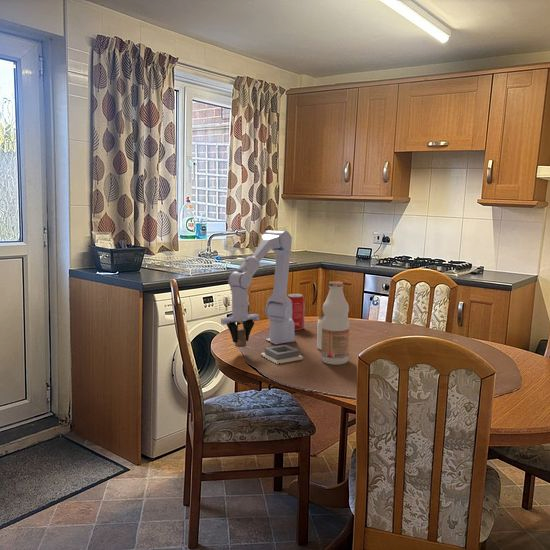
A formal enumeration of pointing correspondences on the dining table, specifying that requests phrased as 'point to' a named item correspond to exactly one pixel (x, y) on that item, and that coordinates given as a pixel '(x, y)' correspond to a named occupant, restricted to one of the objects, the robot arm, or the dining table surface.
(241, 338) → the peg
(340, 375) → the dining table surface
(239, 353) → the dining table surface
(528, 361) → the dining table surface
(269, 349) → the socket block
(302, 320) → the soda can
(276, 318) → the robot arm
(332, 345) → the fruit juice
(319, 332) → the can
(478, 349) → the dining table surface
